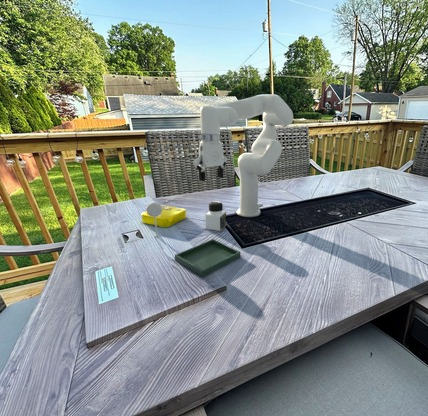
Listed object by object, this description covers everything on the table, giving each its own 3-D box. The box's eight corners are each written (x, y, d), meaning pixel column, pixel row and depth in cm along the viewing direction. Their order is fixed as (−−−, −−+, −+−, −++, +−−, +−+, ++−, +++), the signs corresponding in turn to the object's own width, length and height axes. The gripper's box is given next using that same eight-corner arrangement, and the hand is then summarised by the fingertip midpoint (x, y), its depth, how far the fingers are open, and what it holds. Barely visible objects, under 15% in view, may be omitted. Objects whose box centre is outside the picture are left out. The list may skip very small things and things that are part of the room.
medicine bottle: (220, 231, 116) (220, 205, 112) (205, 229, 117) (204, 204, 113) (226, 225, 122) (226, 201, 118) (212, 223, 124) (211, 199, 120)
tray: (213, 243, 105) (213, 238, 104) (240, 256, 96) (240, 251, 95) (175, 260, 92) (174, 254, 91) (202, 277, 83) (202, 271, 82)
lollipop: (168, 235, 110) (165, 201, 105) (158, 241, 104) (154, 205, 99) (156, 232, 112) (152, 199, 107) (145, 238, 106) (141, 203, 101)
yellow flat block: (140, 222, 121) (139, 212, 119) (163, 212, 134) (162, 203, 132) (166, 228, 116) (165, 218, 114) (187, 217, 129) (187, 208, 128)
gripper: (198, 139, 99) (200, 183, 104) (232, 138, 112) (232, 177, 117) (186, 137, 103) (189, 180, 109) (220, 137, 116) (221, 175, 121)
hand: (211, 179), depth 113 cm, fingers open, 9 cm apart
